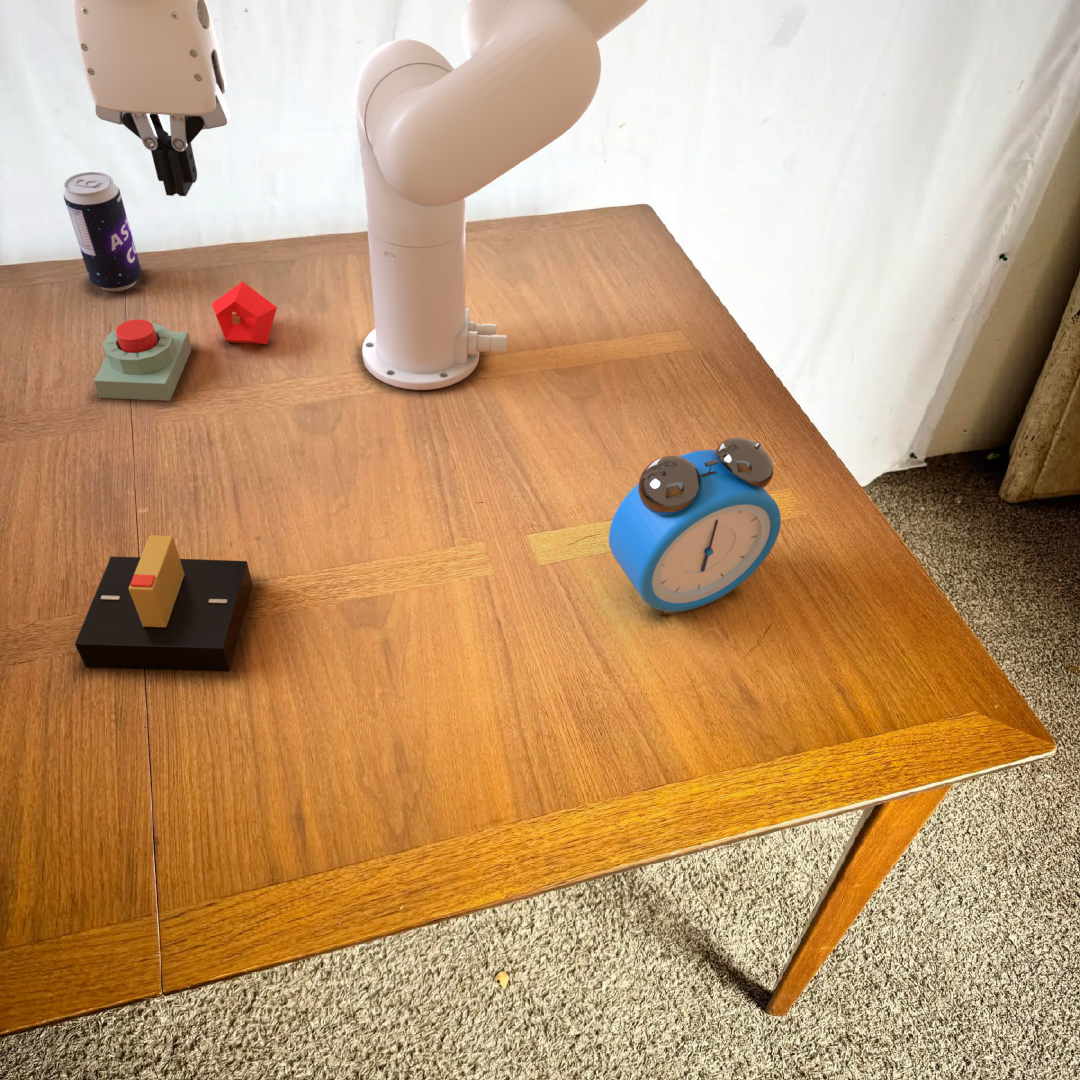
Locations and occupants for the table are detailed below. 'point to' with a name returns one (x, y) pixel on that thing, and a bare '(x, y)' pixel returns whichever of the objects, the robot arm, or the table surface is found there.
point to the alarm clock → (697, 525)
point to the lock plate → (193, 628)
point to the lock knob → (157, 581)
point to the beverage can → (102, 230)
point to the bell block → (143, 367)
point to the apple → (244, 315)
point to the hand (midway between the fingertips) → (180, 188)
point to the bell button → (136, 336)
